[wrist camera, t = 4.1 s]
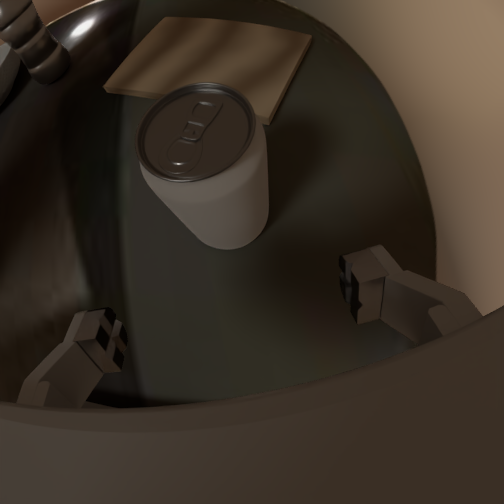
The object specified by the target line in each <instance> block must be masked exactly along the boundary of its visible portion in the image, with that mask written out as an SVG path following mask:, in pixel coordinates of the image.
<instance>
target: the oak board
mask: <svg viewBox="0 0 504 504" xmlns="http://www.w3.org/2000/svg"><path fill="white" fill-rule="evenodd" d="M311 38H312V35H308V34H304V33H299V32H295V31H291V30H286V29H281V28H276V27H271V26H265V25H259V24H253V23H246V22H238V21H230V20H220V19H208V18H190V17H165V18H163V19H162V20H161V21H160V22H159V23H158V24H157V25H156V26H155V27H154V28H153V29H152V30H151V31H150V32H149V34H148V35H147V36H146V37H145V38H144V39H143V40H142V41H141V42H140V43H139V44H138V45H137V46H136V47H135V49H134V50H133V51H132V52H131V53H130V54H129V55H128V57H127V58H126V59H125V60H124V61H123V62H122V64H121V65H120V66H119V67H118V68H117V70H116V71H115V72H114V73H113V75H112V76H111V77H110V78H109V80H108V81H107V82H106V84H105V85H104V86H103V87H104V89H105V90H106V92H107V93H114V94H123V95H130V96H137V97H144V98H151V99H157V100H158V99H159V98H161V97H162V96H164V95H165V94H167V93H168V92H170V91H172V90H174V89H176V88H179V87H182V86H185V85H188V84H193V83H200V82H213V83H220V84H224V85H227V86H230V87H232V88H234V89H236V90H237V91H239V92H240V93H242V94H243V95H244V96H245V97H246V98H247V99H248V101H249V102H250V104H251V105H252V107H253V110H254V112H255V114H256V115H257V116H258V118H259V119H260V121H261V123H262V124H265V125H270V122H271V120H272V118H273V116H274V114H275V112H276V110H277V108H278V106H279V104H280V102H281V100H282V98H283V96H284V94H285V92H286V90H287V88H288V86H289V84H290V82H291V80H292V78H293V76H294V74H295V73H296V71H297V69H298V67H299V65H300V63H301V61H302V59H303V57H304V55H305V53H306V51H307V49H308V48H309V46H310V44H311Z"/></svg>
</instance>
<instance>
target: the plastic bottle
mask: <svg viewBox="0 0 504 504" xmlns="http://www.w3.org/2000/svg"><path fill="white" fill-rule="evenodd" d="M0 38H1V39H2V40H3V41H4V42H6V43H7V44H8V45H9V46H10V47H11V48H12V49H14V51H15V52H16V53H17V54H18V56H19V57H20V59H21V60H22V61H23V63H24V64H25V66H26V67H27V69H28V71H29V73H30V75H31V76H32V78H33V79H34V80H35V81H37V82H38V83H40V84H49V83H52V82H53V81H55V80H56V79H58V78H59V77H60V76H61V75H62V74H63V73H64V72H65V71H66V70H67V68H68V66H69V64H70V55H69V52H68V50H67V49H66V48H65V47H64V46H63V45H62V44H61V43H60V42H59V41H57V40H56V39H55V38H54V36H53V35H52V34H51V33H50V32H49V31H48V30H47V29H46V27H45V25H44V24H43V22H42V21H41V19H40V17H39V16H38V13H37V11H36V9H35V6H34V4H33V2H32V0H0Z"/></svg>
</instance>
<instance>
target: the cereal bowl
mask: <svg viewBox="0 0 504 504" xmlns="http://www.w3.org/2000/svg"><path fill="white" fill-rule="evenodd" d="M19 67H20V57H19V56H18V54H17V53H16V52H15V51H14V49H12V48H11V47H10V46H9V45H8V44H7V43H4V44H3V45H1V46H0V106H1V105H2V103H3V102H4V101H5V99H6V98H7V96H8V95H9V93H10V91H11V89H12V87H13V83H14V80H15V78H16V76H17V73H18V70H19Z"/></svg>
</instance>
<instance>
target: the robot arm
mask: <svg viewBox="0 0 504 504" xmlns="http://www.w3.org/2000/svg"><path fill="white" fill-rule="evenodd" d="M339 266H340V268H341V270H342V273H341V274H340V276H339V278H340V287H341V292H342V295H343V297H344V299H345V302H347V303H349V304H350V312H351V314H352V316H353V318H354V320H355V322H356V324H357V325H359V324H362V323H366V322H369V321H373V320H376V319H380V320H382V321H383V322H385V323H386V324H388V325H389V326H391V327H392V328H394V329H395V330H397V331H398V332H400V333H401V334H403V335H404V336H406V337H408V338H409V339H411V340H412V341H414V342H415V343H417V344H418V346H417V347H415V348H413V349H410V350H408V351H405V352H402V353H400V354H397V355H394V356H392V357H389V358H386V359H383V360H380V361H377V362H375V363H372V364H369V365H366V366H362V367H359V368H356V369H353V370H350V371H346V372H343V373H340V374H336V375H333V376H329V377H326V378H322V379H318V380H314V381H310V382H307V383H302V384H298V385H294V386H290V387H286V388H281V389H276V390H272V391H267V392H262V393H257V394H251V395H246V396H240V397H234V398H228V399H221V400H214V401H207V402H199V403H191V404H181V405H170V406H158V407H142V408H113V409H89V408H81V407H82V405H83V404H84V402H85V401H86V399H87V398H88V396H89V395H90V393H91V392H92V390H93V389H94V387H95V386H96V384H97V383H98V381H99V380H100V379H101V377H102V376H103V373H109V372H118V371H122V367H123V362H124V355H123V353H122V352H123V351H124V350H125V349H126V348H127V344H128V336H127V332H126V329H125V327H124V326H123V324H122V323H121V322H119V321H117V320H116V313H115V312H114V310H113V309H112V308H110V307H106V308H100V309H94V310H88V311H83V312H78V313H76V314H75V316H74V318H73V320H72V322H71V325H70V327H69V329H68V332H67V334H66V337H65V339H64V342H63V343H60V344H59V345H58V346H57V347H56V348H55V349H54V350H53V351H52V352H51V353H50V354H49V355H48V356H47V357H46V358H45V359H44V360H43V361H42V362H41V363H40V364H39V365H38V366H37V368H36V369H35V370H34V371H33V372H32V373H31V374H30V375H29V376H28V377H27V378H26V379H25V380H24V383H23V386H22V388H21V391H20V394H19V397H18V400H17V403H9V402H2V401H0V504H504V306H502V307H500V308H499V309H497V310H495V311H493V312H491V313H489V314H487V315H485V316H482V315H481V313H480V312H479V311H478V310H477V308H476V307H475V306H474V305H473V303H472V302H471V301H470V300H469V298H468V297H467V296H466V295H465V294H464V293H462V292H460V291H457V290H455V289H453V288H450V287H448V286H445V285H443V284H440V283H438V282H436V281H433V280H431V279H428V278H426V277H423V276H421V275H418V274H416V273H413V272H411V271H408V270H406V271H403V270H402V269H401V268H400V266H399V265H398V264H397V263H396V261H395V260H394V259H393V258H392V257H391V255H390V254H389V253H388V252H387V251H386V249H385V248H384V247H383V246H382V245H376V246H373V247H369V248H367V249H364V250H360V251H356V252H352V253H348V254H344V255H340V257H339Z"/></svg>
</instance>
